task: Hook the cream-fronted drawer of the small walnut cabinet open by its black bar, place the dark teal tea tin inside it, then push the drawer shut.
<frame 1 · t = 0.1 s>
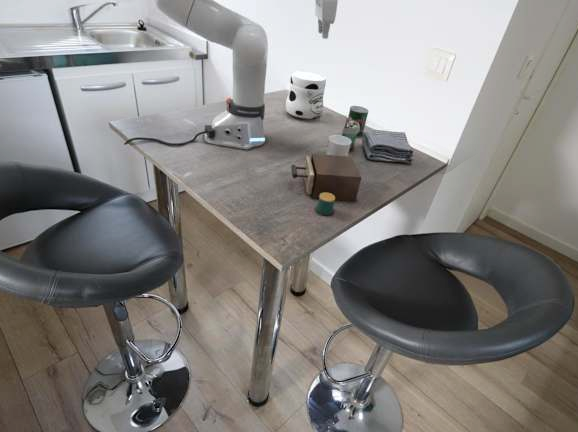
hand: (322, 35, 115), 39 cm above the table, tool pointing down, fingers open, 8 cm apart
cabinet: (330, 188, 112), on the table
milk container: (303, 116, 163), on the table
drawer: (318, 175, 109), point 4 cm above the table, slide at 0.6 cm
tea tin: (324, 210, 101), on the table
towel: (385, 155, 140), on the table
white cup: (334, 166, 126), on the table
canned tomato: (353, 134, 154), on the table
food container: (347, 148, 140), on the table
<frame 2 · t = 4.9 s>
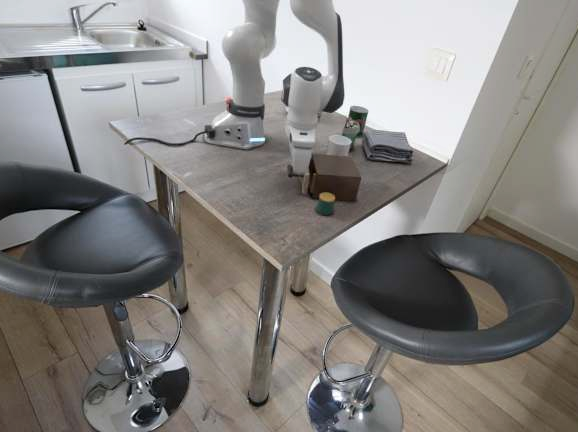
hand: (295, 172, 108), 5 cm above the table, tool pointing down, fingers closed
drawer: (314, 175, 109), point 4 cm above the table, slide at 2.0 cm, touching gripper
everything else where it was.
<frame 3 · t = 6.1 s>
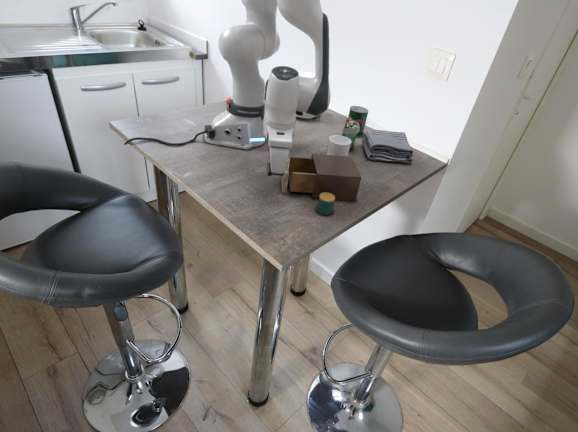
hand: (274, 171, 107), 4 cm above the table, tool pointing down, fingers closed, pressing on drawer
drawer: (294, 173, 108), point 4 cm above the table, slide at 8.2 cm, touching gripper
everything else where it was.
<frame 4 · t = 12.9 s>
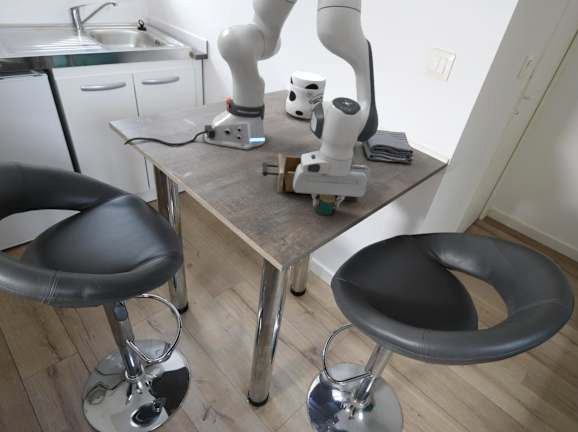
hand: (325, 205, 100), 2 cm above the table, tool pointing down, fingers closed on tea tin, 4 cm apart
drawer: (290, 173, 108), point 4 cm above the table, slide at 9.5 cm
tea tin: (324, 210, 101), on the table, touching gripper
everything else where it was.
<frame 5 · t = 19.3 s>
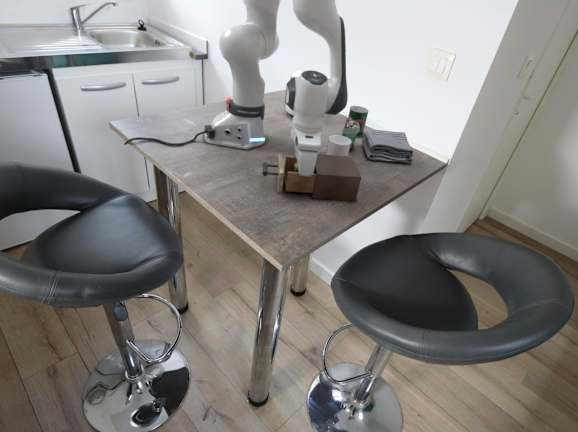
hand: (300, 174, 108), 4 cm above the table, tool pointing down, fingers closed on tea tin, 4 cm apart
drawer: (290, 173, 108), point 4 cm above the table, slide at 9.5 cm, touching gripper
tea tin: (299, 179, 109), point 2 cm above the table, touching gripper
everything else where it was.
when the fingers open (5 cm above the table, at t = 23.0 s): tea tin stays where it is, resting on drawer.
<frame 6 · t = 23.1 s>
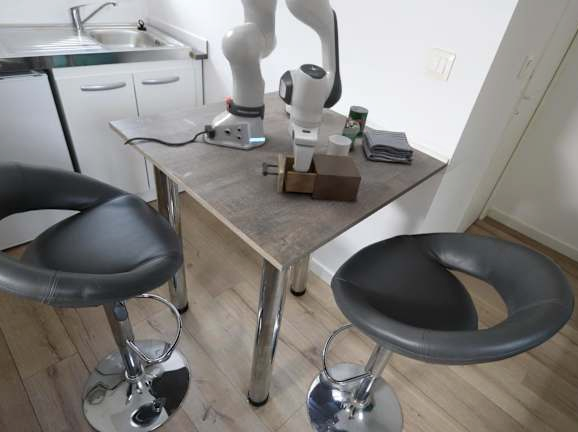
hand: (297, 169, 107), 6 cm above the table, tool pointing down, fingers open, 6 cm apart
drawer: (290, 173, 108), point 4 cm above the table, slide at 9.5 cm, touching tea tin
tea tin: (298, 180, 109), point 2 cm above the table, touching drawer
everything else where it was.
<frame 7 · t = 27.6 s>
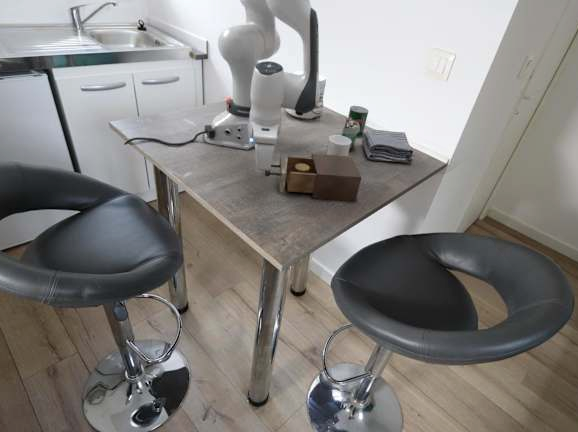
hand: (261, 169, 106), 5 cm above the table, tool pointing down, fingers closed
drawer: (292, 173, 108), point 4 cm above the table, slide at 8.8 cm, touching gripper, tea tin
everything else where it was.
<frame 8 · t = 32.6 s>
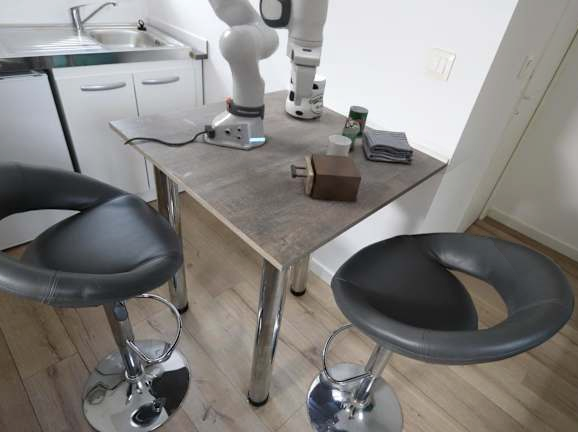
hand: (297, 104, 97), 25 cm above the table, tool pointing down, fingers closed
drawer: (318, 175, 109), point 4 cm above the table, slide at 0.8 cm, touching tea tin
tea tin: (325, 182, 111), point 2 cm above the table, touching drawer
everything else where it was.
at the end: drawer pulled out 9.6 cm at the most during the clip, back to 0.8 cm at the end; tea tin inside the target area in the cabinet (2.0 cm from its centre), point 1.9 cm above the cabinet's base; drawer slide at 0.8 cm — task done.
